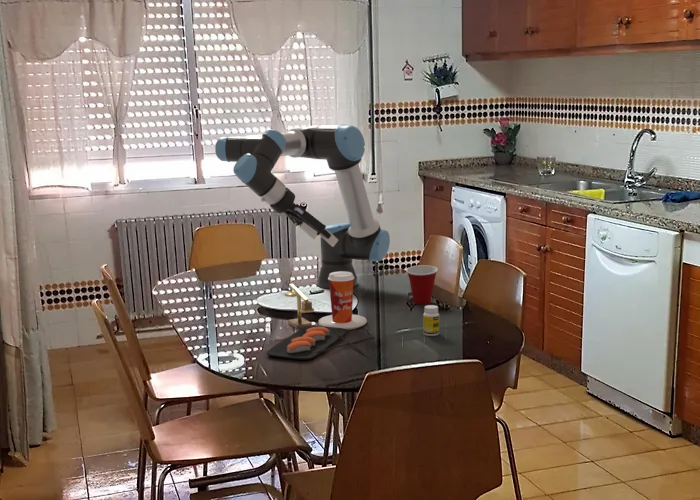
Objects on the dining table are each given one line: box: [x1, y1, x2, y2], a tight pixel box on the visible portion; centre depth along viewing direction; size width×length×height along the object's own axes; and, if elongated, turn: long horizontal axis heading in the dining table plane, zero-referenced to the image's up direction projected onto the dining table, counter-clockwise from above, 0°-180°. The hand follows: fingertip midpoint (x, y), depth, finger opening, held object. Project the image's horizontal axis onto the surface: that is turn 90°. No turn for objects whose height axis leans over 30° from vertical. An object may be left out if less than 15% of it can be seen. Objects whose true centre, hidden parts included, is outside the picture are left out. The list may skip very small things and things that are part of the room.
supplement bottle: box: [422, 304, 440, 337], centre depth 238 cm, size 5×5×8 cm
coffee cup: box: [328, 271, 354, 323], centre depth 249 cm, size 8×8×15 cm
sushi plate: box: [266, 325, 374, 360], centre depth 228 cm, size 29×30×4 cm
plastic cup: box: [405, 264, 439, 305], centre depth 273 cm, size 11×11×12 cm
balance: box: [284, 283, 315, 330], centre depth 250 cm, size 16×5×12 cm, turn 27°
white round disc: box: [318, 313, 368, 331], centre depth 251 cm, size 15×15×1 cm
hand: (325, 239), depth 246 cm, fingers open, 13 cm apart
